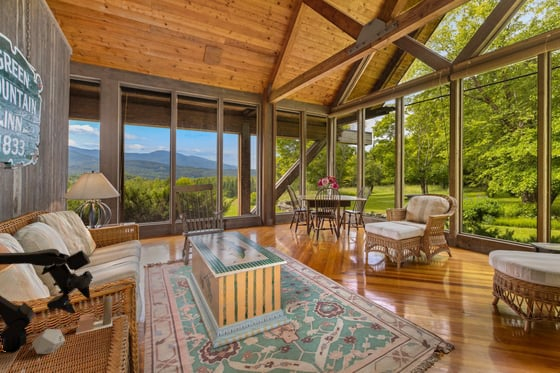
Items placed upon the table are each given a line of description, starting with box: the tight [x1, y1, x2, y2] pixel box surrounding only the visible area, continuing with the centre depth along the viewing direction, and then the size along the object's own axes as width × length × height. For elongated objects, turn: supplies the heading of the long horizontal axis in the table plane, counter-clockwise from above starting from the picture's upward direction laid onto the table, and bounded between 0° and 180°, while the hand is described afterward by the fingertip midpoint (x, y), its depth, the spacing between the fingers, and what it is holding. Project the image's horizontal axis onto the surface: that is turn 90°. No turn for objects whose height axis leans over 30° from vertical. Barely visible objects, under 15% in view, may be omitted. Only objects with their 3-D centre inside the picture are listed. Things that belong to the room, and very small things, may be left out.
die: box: [31, 328, 66, 355], centre depth 95 cm, size 8×9×10 cm
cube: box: [78, 312, 95, 332], centre depth 110 cm, size 5×5×5 cm
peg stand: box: [75, 295, 114, 335], centre depth 111 cm, size 13×7×13 cm, turn 126°
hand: (81, 305), depth 108 cm, fingers open, 9 cm apart
